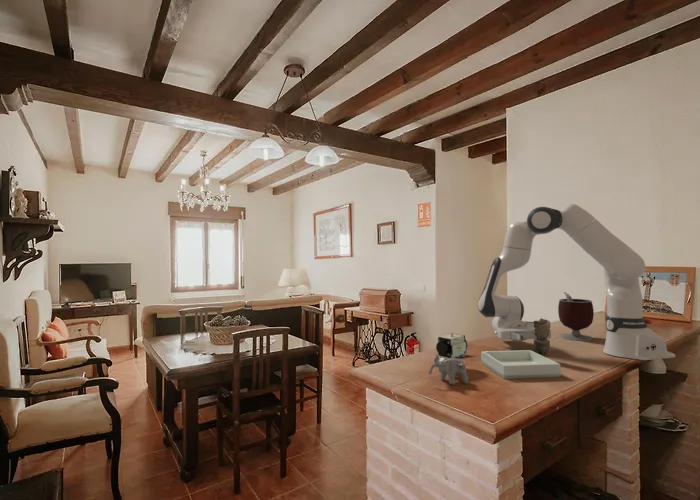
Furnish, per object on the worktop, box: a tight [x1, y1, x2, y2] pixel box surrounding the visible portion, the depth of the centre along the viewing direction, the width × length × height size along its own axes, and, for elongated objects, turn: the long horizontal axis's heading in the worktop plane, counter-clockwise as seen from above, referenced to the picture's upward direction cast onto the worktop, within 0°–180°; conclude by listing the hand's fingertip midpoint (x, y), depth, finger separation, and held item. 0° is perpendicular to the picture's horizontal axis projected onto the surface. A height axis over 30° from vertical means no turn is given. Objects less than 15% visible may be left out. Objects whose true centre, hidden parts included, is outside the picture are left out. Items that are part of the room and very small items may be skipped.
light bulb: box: [532, 318, 552, 358], centre depth 138 cm, size 6×6×15 cm
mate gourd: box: [557, 291, 595, 342], centre depth 175 cm, size 16×14×20 cm
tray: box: [480, 349, 562, 380], centre depth 128 cm, size 18×18×4 cm
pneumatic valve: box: [435, 332, 468, 360], centre depth 130 cm, size 6×12×12 cm, turn 130°
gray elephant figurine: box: [428, 355, 469, 386], centre depth 115 cm, size 9×12×8 cm
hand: (533, 337), depth 145 cm, fingers open, 8 cm apart
